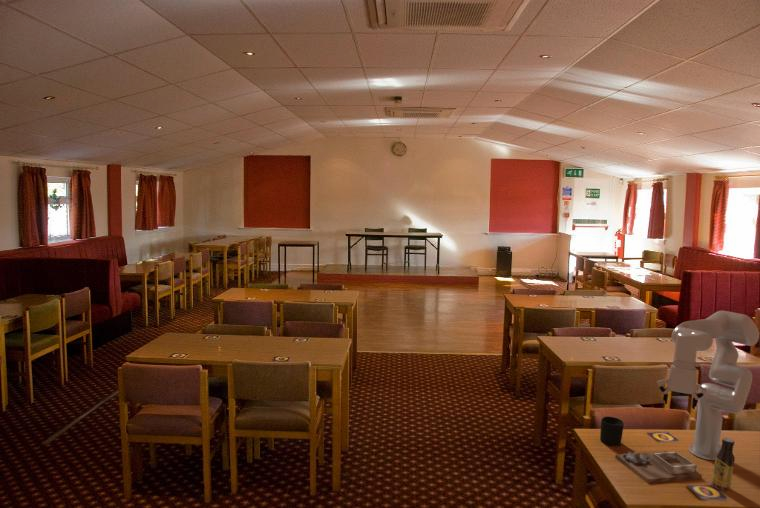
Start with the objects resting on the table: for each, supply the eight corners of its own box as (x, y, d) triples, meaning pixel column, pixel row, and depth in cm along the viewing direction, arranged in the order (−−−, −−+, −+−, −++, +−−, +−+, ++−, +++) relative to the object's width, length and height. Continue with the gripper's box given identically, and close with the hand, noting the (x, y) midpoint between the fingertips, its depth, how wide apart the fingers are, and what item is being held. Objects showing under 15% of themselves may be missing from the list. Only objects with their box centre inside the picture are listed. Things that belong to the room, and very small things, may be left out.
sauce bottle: (707, 482, 220) (714, 435, 217) (722, 482, 220) (729, 435, 218) (719, 492, 213) (725, 442, 211) (734, 492, 214) (741, 443, 211)
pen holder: (626, 445, 249) (628, 424, 248) (609, 447, 246) (611, 426, 244) (611, 436, 258) (613, 415, 256) (594, 438, 255) (596, 417, 253)
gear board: (665, 454, 242) (666, 444, 242) (701, 478, 223) (702, 467, 222) (615, 457, 236) (616, 447, 236) (647, 482, 217) (648, 471, 217)
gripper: (708, 365, 218) (703, 406, 221) (659, 357, 226) (654, 397, 228) (710, 370, 212) (705, 413, 214) (659, 362, 219) (655, 404, 221)
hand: (679, 405), depth 221 cm, fingers open, 9 cm apart
